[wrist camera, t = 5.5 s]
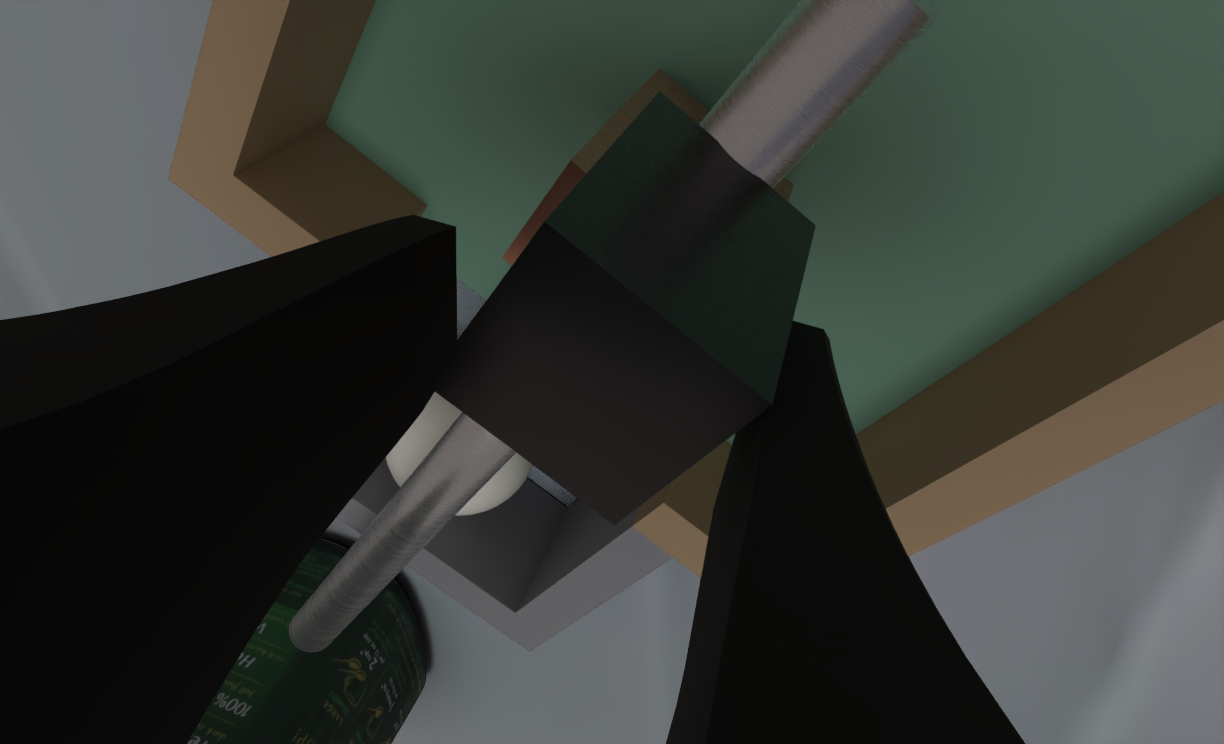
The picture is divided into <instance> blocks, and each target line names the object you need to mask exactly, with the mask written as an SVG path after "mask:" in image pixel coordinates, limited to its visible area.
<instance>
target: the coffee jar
mask: <svg viewBox="0 0 1224 744" xmlns="http://www.w3.org/2000/svg"><path fill="white" fill-rule="evenodd" d="M347 552H348V549H347V548H345V547H343V546H341V545H339V544H336V543H333V542H330V541H327V540H324V539H322V538H319V539H318V540H317V542H316V543H315V544H314V546H313V547H312V548H311V550H310V551H309V552H308V554H307V555H306V556H305V558H304V559H303V560H302V562H301V563H300V564H299V566H298V567H297V569H296V570H295V572H294V573H293V575H292V576H291V578H290V579H289V581H288V582H287V584H286V585H285V587H284V588H283V590H282V591H281V593H280V594H279V596H278V597H277V599H276V600H275V602H274V603H273V605H272V606H271V608H270V610H269V611H268V613H267V614H266V616H265V617H264V619H263V620H262V622H261V623H260V625H259V626H258V628H257V629H256V631H255V632H254V634H253V636H252V637H251V639H250V640H249V642H248V644H247V645H246V647H245V648H244V650H243V652H242V653H241V655H240V657H239V658H238V660H237V661H236V663H235V665H234V666H233V668H232V669H231V671H230V673H229V674H228V676H227V677H226V679H225V681H224V682H223V684H222V685H221V687H220V689H219V690H218V692H217V693H216V695H215V697H214V698H213V700H212V702H211V703H210V705H209V707H208V708H207V710H206V712H205V714H204V715H203V717H202V719H201V720H200V722H199V724H198V726H197V727H196V729H195V731H194V733H193V734H192V736H191V738H190V739H189V741H188V743H187V744H391V743H392V742H393V740H394V738H395V736H396V735H397V733H398V731H399V730H400V728H401V727H402V725H403V723H404V721H405V720H406V718H407V716H408V714H409V713H410V711H411V709H412V708H413V706H414V704H415V702H416V701H417V699H418V697H419V695H420V693H421V692H422V690H423V688H424V685H425V681H426V657H425V651H424V644H423V641H422V637H421V634H420V630H419V627H418V624H417V621H416V618H415V615H414V613H413V610H412V608H411V605H410V603H409V601H408V599H407V597H406V595H405V593H404V591H403V589H402V588H401V587H400V585H399V584H398V583H397V582H396V581H395V580H394V579H392V580H391V582H390V583H389V584H388V585H387V586H386V587H385V588H384V589H383V590H382V591H381V592H380V593H379V594H378V595H377V596H376V597H375V598H374V599H373V600H372V601H371V602H370V603H369V604H368V605H367V606H366V607H365V608H364V609H363V610H362V611H361V612H360V613H359V614H358V615H357V616H356V617H355V618H354V620H353V621H352V622H351V623H350V624H349V625H348V626H347V627H346V628H345V629H344V630H343V631H342V632H341V633H340V634H339V635H338V636H337V637H336V638H335V639H334V640H333V641H332V642H331V643H330V644H329V645H328V646H327V647H326V648H325V649H323V650H321V651H318V652H313V653H309V652H304V651H302V650H300V649H298V648H297V647H296V646H295V645H294V644H293V643H292V641H291V639H290V636H289V626H290V623H291V620H292V619H293V617H294V616H295V615H296V614H297V612H298V611H299V610H300V609H301V608H302V606H303V605H304V604H305V603H306V601H307V600H308V599H309V598H310V597H311V595H312V594H313V593H314V592H315V591H316V589H317V588H318V587H319V586H320V584H321V583H322V582H323V581H324V580H325V578H326V577H327V576H328V575H329V573H330V572H331V571H332V570H333V569H334V567H335V566H336V565H337V564H338V563H339V561H340V560H341V559H342V558H343V556H344V555H345V554H346V553H347Z"/></svg>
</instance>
